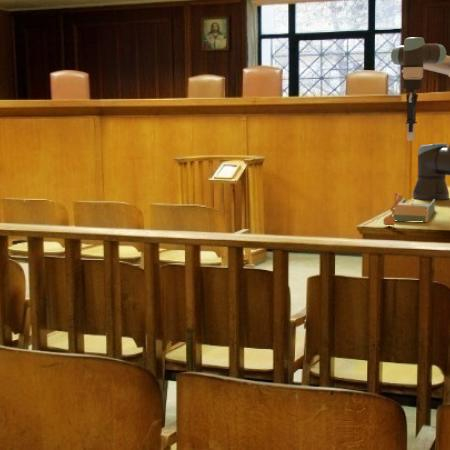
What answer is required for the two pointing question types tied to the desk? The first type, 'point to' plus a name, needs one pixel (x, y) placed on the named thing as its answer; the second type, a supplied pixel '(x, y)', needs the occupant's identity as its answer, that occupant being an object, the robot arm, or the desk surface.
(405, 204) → the birch block
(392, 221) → the figurine
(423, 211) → the box
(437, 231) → the desk surface
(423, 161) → the robot arm
